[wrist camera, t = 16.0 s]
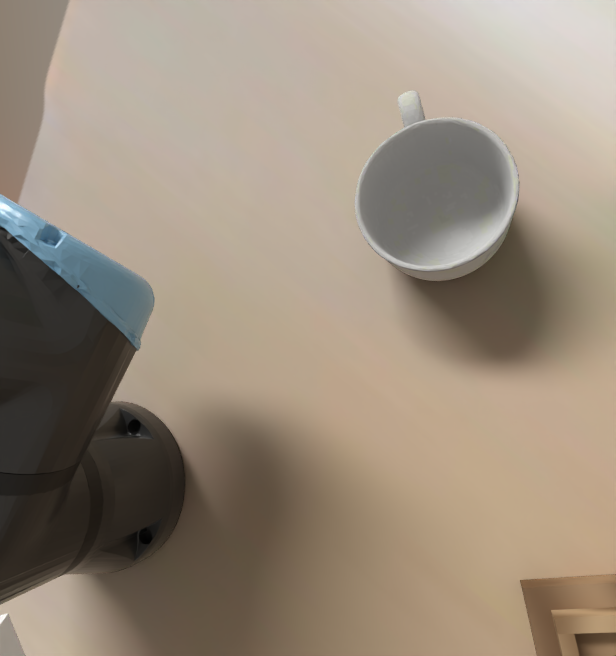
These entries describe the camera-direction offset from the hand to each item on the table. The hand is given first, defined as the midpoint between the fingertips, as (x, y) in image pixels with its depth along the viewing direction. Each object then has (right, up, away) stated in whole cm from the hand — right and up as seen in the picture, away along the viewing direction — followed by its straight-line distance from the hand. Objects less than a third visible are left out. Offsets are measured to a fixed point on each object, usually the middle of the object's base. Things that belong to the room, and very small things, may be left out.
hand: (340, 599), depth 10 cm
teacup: (+10, +15, +31) cm, 36 cm away
